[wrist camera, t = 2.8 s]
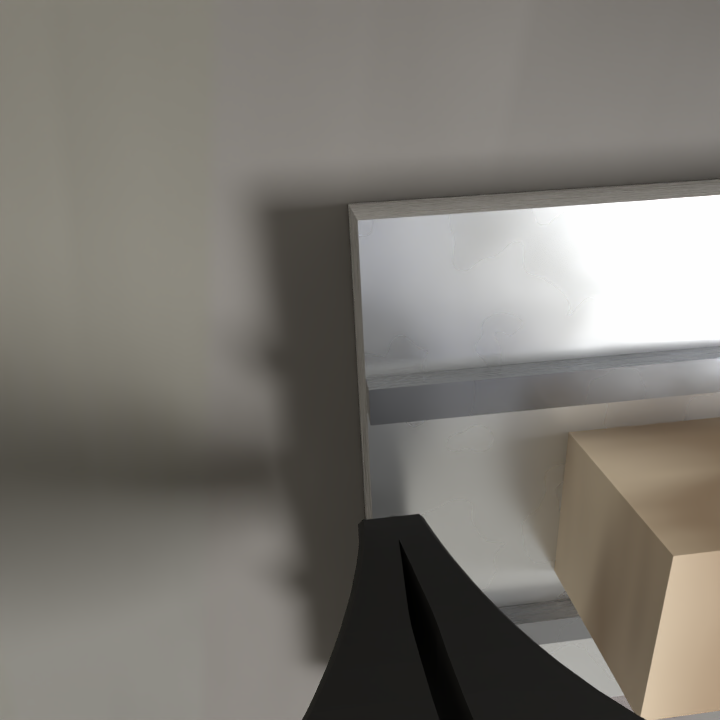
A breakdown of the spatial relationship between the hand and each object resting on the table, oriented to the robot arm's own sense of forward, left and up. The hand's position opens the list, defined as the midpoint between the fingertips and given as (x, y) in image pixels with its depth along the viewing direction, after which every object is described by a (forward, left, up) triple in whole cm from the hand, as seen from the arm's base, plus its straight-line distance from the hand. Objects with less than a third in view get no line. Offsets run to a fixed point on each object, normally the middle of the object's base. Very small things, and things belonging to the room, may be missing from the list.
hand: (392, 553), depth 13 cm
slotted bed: (-7, 0, -3) cm, 8 cm away
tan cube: (-6, 0, -1) cm, 6 cm away
